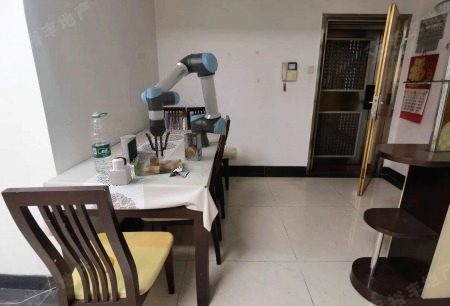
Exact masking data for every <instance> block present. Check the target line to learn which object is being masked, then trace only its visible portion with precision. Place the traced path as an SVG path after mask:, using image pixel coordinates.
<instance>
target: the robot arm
mask: <svg viewBox="0 0 450 306" xmlns="http://www.w3.org/2000/svg"><path fill="white" fill-rule="evenodd" d="M218 65H219V64H218V59H217V56H215V54H214V53H212V52H197V53H190V54H188V55H186V56H185V57H182V59H180V60H178V62H177V63H176V64H175V67H174V68H173V69H171V71H169V72H168V73H167V74H165V76H164V77H163V78H161V80H160V81H158V83H156V84H155V85H154V86H153V87H147V88H146V90H144V91H143V92H142V93H141V94H140V95H141V97H140V98H141V101H142V103H143V104H145V105H147V108H148V109H147V111H148V120H149V121H148V122H149V130H148V131H146V132H145V133H144V135H145V137H147V141H148V142H149V146H150V148H151V150H152V151H155V155H156V157H158V158H159V163H162V161H163V159H162V158H163V157H164V150H167V147H168V141H169V136H170V135H171V131H170V130H167V129H166V123H165V112H164V107H169V106H177V105H178V104H180V101H181V98H180V94H179V92H178V91H176V90H174V91H173V90H172V89H173V88H174V87H175V86H176V85H177V84H178V83H179V82H180V81H181V80H182V79H183V78H185V77H188V75H191V74H196V76H197V78H198V79H200V85H201V91H202V97H203V102H204V108H205V113H203V114H195V115H191V116H190V133H201V141H202V148H206V147H209V146H210V141H209V137H208V134H213V135H221V134H222V133H223V132H224V131H225V128H226V119H225V118H224V117H222V114H221V112H219V106H218V101H217V100H218V99H217V93H216V87H215V86H216V85H215V79H214V78H215V75H216V72H217V71H218ZM223 130H224V131H223ZM222 131H223V132H222ZM164 134H165V140H164V145H163V136H164ZM151 135H152V136H153V137H154V138H153V139H154V143H153V140H152V137H151ZM158 137H159V144H158ZM158 145H159V146H160V149H159V146H158Z"/></svg>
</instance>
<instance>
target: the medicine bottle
mask: <svg viewBox="0 0 450 306" xmlns="http://www.w3.org/2000/svg"><path fill="white" fill-rule="evenodd" d="M111 163H112V169H110V170H109V174H110V181H111V186H121V185H122V186H123V185H124V186H126V185H128V184H130V182H131V180H132V169H131V168H132V167H131V165H130V164H129V165H128V163H127V158H126V156H118V157H117V156H115V157H114V158H112V160H111Z"/></svg>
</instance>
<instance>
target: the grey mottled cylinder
mask: <svg viewBox="0 0 450 306" xmlns="http://www.w3.org/2000/svg"><path fill="white" fill-rule="evenodd" d="M135 137H136V138H137V135H135V134H125V135H121V136H120V137H119V138H120V144H121V145H120V146H121V151H122V157H129V156H128V147H127V143H129V142H130V141H131V140H132V139H134V138H135ZM136 145H137V142H136ZM137 146H138V145H137ZM138 153H139V152H138V151H137V154H138ZM138 155H139V154H138Z"/></svg>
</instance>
